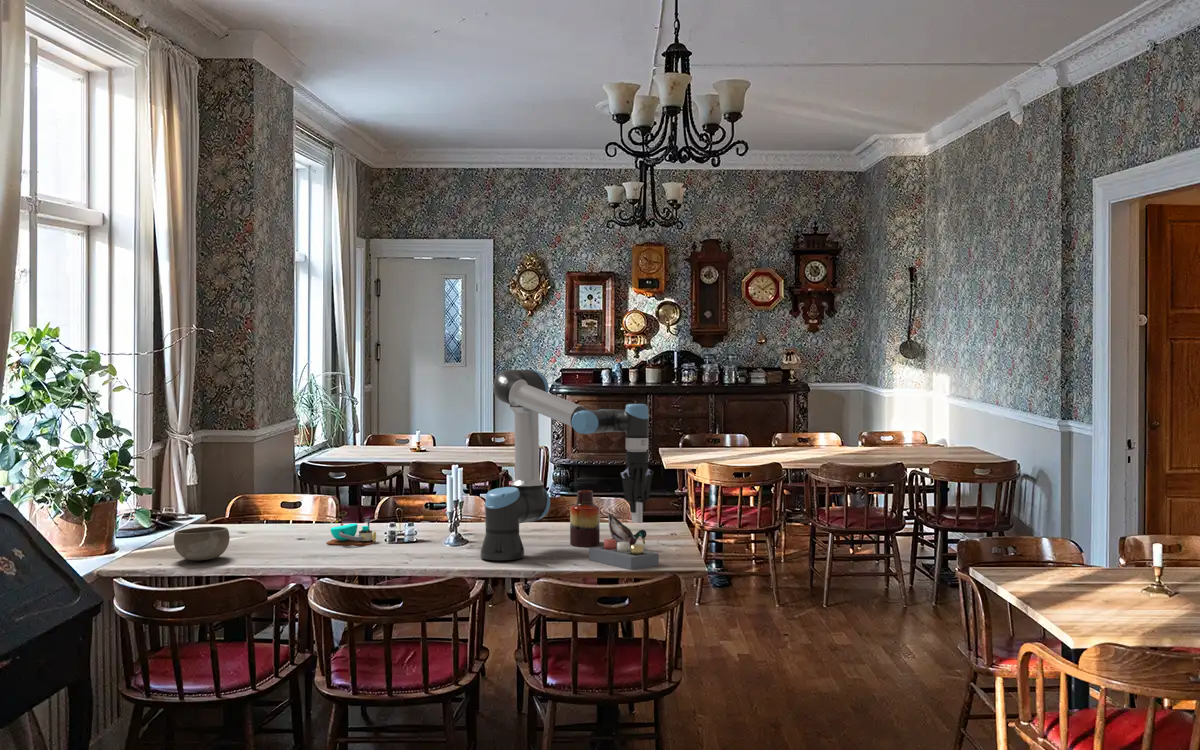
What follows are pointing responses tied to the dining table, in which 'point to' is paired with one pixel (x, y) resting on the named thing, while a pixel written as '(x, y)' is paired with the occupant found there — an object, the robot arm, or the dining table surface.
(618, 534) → the decorative duck model
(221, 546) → the bowl
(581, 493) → the vase
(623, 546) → the ivory button
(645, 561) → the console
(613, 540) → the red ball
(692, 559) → the dining table surface
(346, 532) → the contraption on wooden base
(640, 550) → the gold rounded piece
